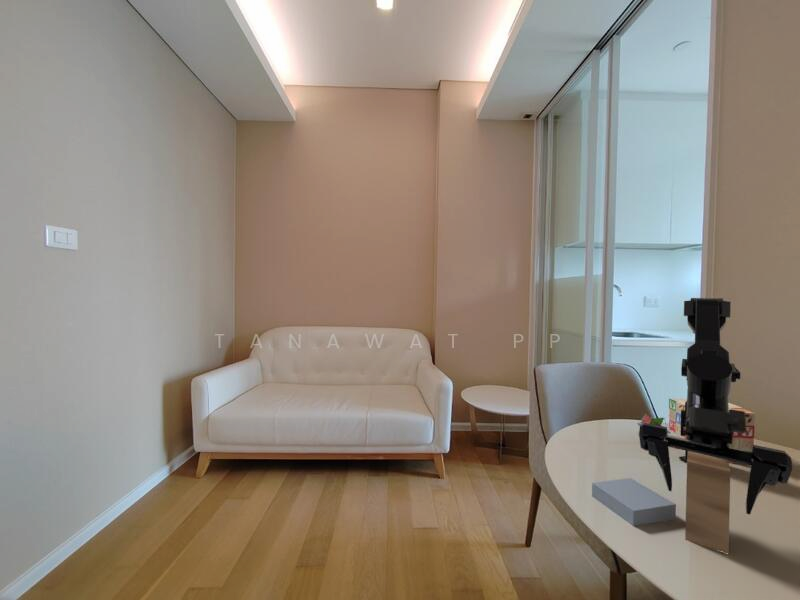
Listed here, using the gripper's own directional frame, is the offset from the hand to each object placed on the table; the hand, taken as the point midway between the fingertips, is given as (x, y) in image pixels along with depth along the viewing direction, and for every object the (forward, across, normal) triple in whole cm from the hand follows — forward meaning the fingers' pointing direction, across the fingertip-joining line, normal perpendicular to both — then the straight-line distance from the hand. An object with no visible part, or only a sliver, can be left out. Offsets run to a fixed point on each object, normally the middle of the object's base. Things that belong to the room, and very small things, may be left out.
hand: (707, 501), depth 55 cm
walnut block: (+4, 0, +6) cm, 7 cm away
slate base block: (+2, -10, +7) cm, 13 cm away
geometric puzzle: (-27, -10, +36) cm, 46 cm away
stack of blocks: (-31, +1, +41) cm, 51 cm away
